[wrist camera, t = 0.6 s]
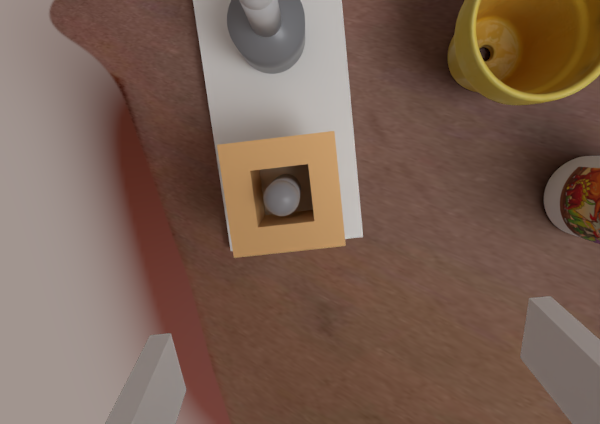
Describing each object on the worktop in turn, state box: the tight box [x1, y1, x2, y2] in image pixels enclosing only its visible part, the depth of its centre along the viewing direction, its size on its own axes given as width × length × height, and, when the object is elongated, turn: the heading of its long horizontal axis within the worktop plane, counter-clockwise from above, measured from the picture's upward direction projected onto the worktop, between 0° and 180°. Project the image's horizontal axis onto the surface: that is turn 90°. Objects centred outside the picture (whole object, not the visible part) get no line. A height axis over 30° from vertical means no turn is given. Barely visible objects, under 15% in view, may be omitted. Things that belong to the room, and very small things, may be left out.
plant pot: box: [448, 0, 600, 105], centre depth 30 cm, size 10×10×10 cm
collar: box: [217, 131, 346, 258], centre depth 28 cm, size 8×8×5 cm
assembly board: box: [193, 0, 363, 251], centre depth 29 cm, size 25×13×13 cm, turn 7°
